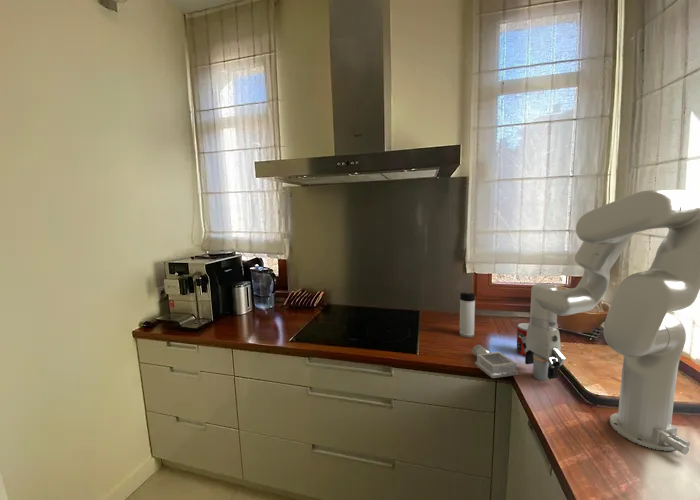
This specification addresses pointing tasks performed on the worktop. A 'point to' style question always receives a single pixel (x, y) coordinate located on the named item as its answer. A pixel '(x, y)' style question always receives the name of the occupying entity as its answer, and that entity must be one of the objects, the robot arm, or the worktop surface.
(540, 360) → the canister
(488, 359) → the fitting
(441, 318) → the worktop surface
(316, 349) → the worktop surface
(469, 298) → the travel mug
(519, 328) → the canned food
